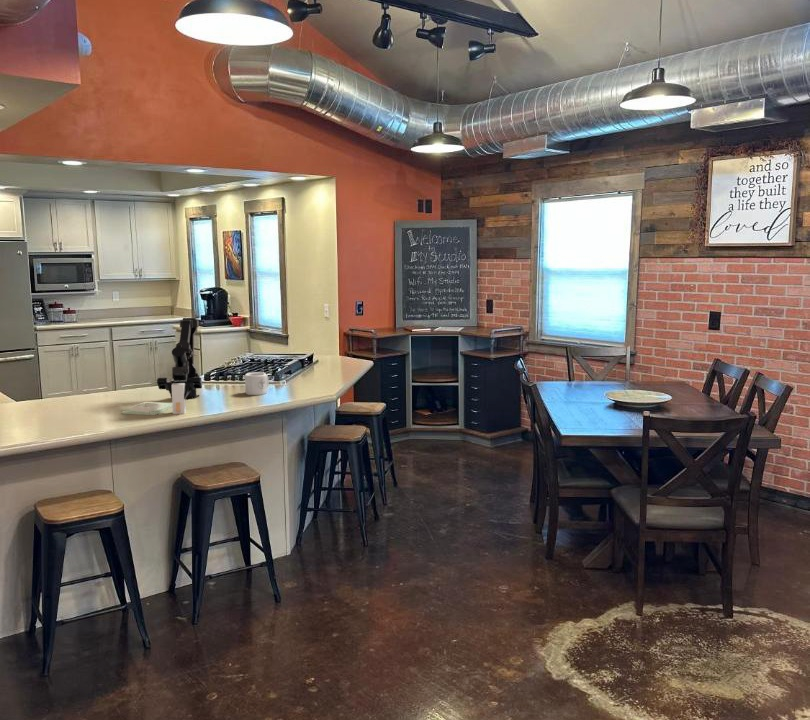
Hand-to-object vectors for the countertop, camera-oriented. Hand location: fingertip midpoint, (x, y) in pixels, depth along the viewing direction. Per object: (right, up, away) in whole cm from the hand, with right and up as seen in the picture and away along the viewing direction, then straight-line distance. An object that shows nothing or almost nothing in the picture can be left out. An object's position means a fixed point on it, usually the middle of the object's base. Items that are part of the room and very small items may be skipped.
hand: (178, 398), depth 301 cm
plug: (0, -6, +2) cm, 7 cm away
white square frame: (-15, -6, +4) cm, 17 cm away
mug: (+25, 0, +47) cm, 53 cm away
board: (-16, -5, +8) cm, 18 cm away
